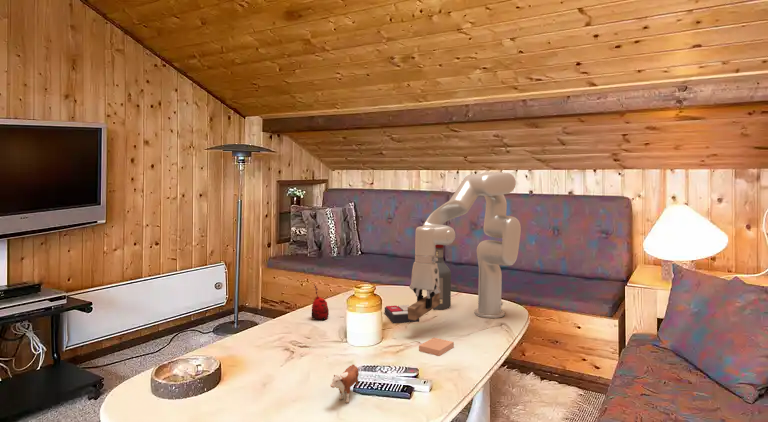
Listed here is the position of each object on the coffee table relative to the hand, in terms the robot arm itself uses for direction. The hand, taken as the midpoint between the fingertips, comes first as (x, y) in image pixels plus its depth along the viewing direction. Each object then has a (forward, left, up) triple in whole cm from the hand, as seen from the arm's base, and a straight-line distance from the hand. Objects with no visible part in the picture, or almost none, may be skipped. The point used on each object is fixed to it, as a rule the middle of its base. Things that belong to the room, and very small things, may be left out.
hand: (424, 306), depth 194 cm
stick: (0, 0, -2) cm, 2 cm away
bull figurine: (+60, +12, -10) cm, 62 cm away
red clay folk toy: (+11, -44, -10) cm, 46 cm away
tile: (+8, +13, -9) cm, 18 cm away
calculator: (-11, -18, -10) cm, 23 cm away
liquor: (-33, -13, -10) cm, 37 cm away
